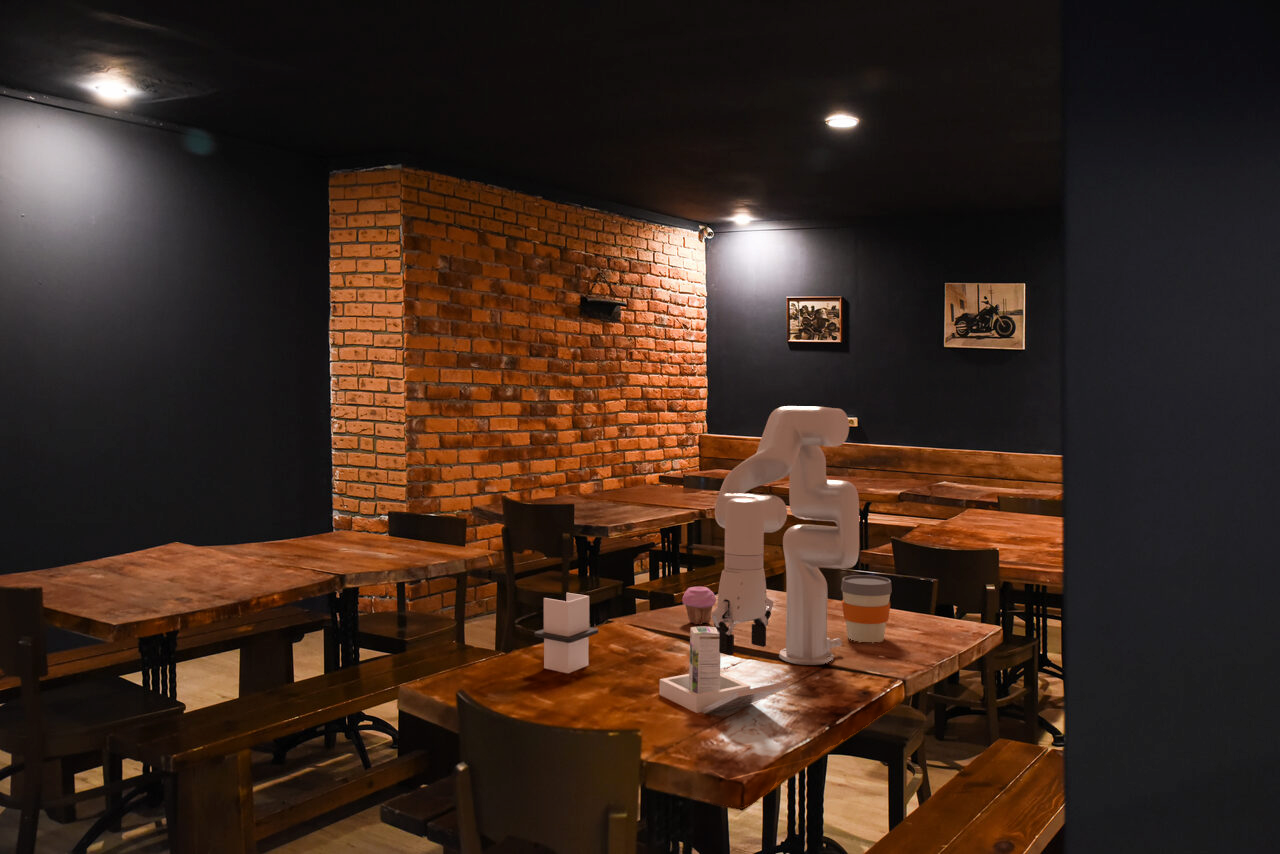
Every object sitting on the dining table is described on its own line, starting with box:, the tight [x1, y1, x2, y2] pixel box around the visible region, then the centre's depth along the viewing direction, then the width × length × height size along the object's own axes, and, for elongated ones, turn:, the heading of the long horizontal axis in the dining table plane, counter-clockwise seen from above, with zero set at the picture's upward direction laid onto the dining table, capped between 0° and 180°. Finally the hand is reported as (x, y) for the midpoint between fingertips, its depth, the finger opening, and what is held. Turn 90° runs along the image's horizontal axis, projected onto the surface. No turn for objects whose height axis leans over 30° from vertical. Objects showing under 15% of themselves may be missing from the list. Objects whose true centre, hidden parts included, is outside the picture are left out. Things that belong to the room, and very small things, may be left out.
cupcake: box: [681, 586, 717, 625], centre depth 275 cm, size 9×9×10 cm
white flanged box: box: [534, 592, 599, 674], centre depth 234 cm, size 25×24×16 cm
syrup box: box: [688, 626, 722, 694], centre depth 211 cm, size 6×6×14 cm
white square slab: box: [702, 681, 789, 715], centre depth 199 cm, size 13×12×1 cm
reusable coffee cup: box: [840, 574, 893, 644], centre depth 259 cm, size 13×13×15 cm
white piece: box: [659, 672, 751, 714], centre depth 211 cm, size 13×13×4 cm
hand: (742, 649), depth 199 cm, fingers open, 9 cm apart
